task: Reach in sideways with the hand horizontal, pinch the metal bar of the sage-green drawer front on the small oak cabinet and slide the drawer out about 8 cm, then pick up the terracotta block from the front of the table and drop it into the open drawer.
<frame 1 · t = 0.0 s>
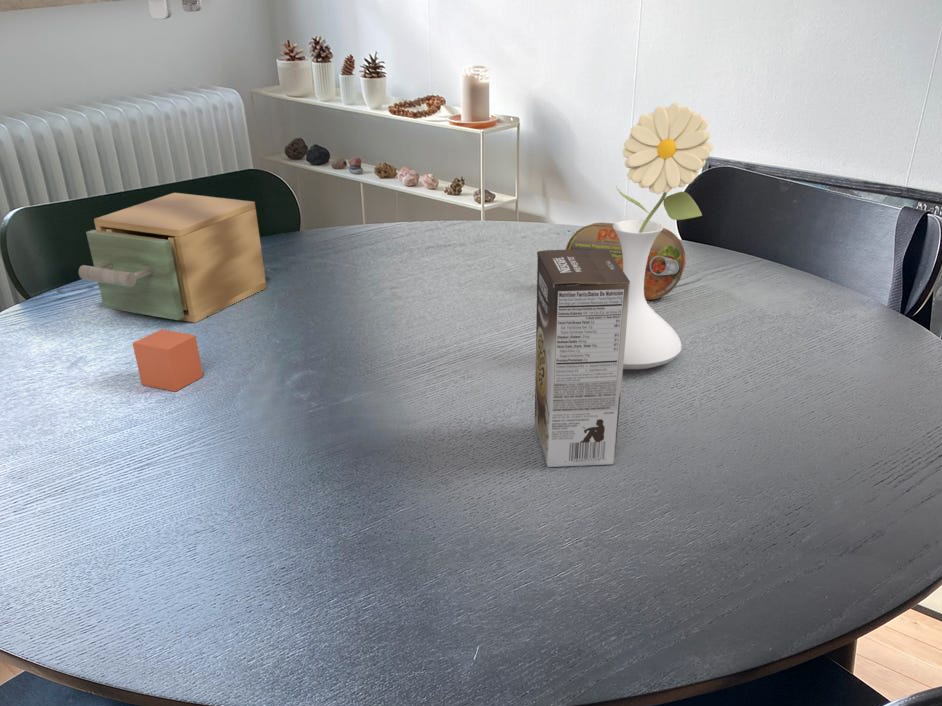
hand: (177, 14, 108), 30 cm above the table, tool pointing down, fingers open, 8 cm apart
flower in vase: (632, 363, 106), on the table
block: (172, 380, 103), on the table
cabinet: (192, 298, 125), on the table
tin: (622, 295, 125), on the table
coffee box: (572, 446, 90), on the table
drawer: (157, 266, 118), point 5 cm above the table, slide at 1.0 cm
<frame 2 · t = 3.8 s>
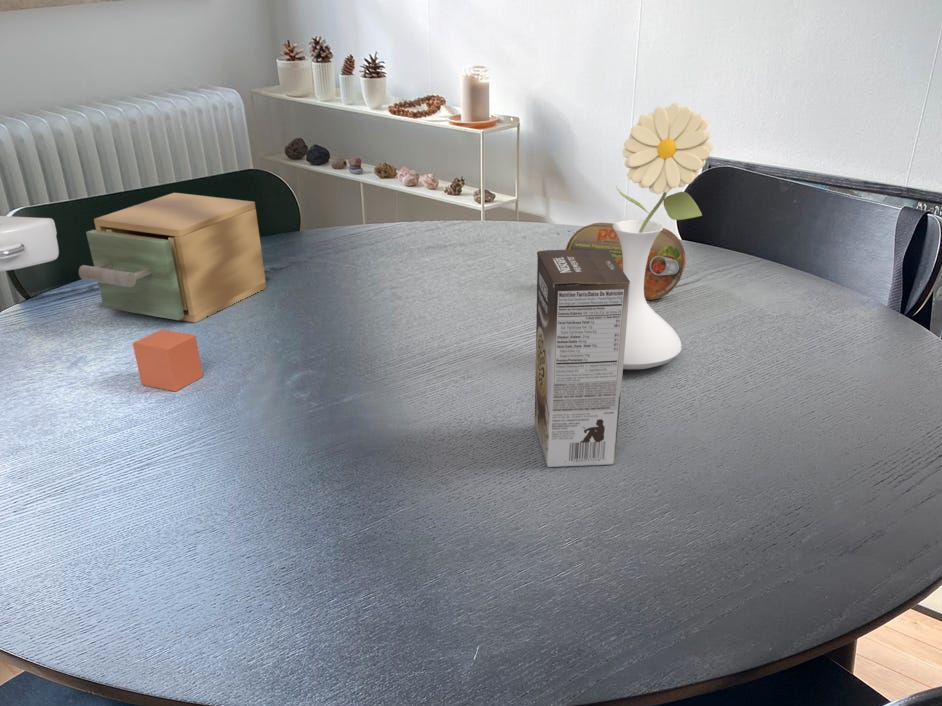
hand: (11, 224, 99), 14 cm above the table, tool horizontal, fingers open, 8 cm apart
nothing on the table moved.
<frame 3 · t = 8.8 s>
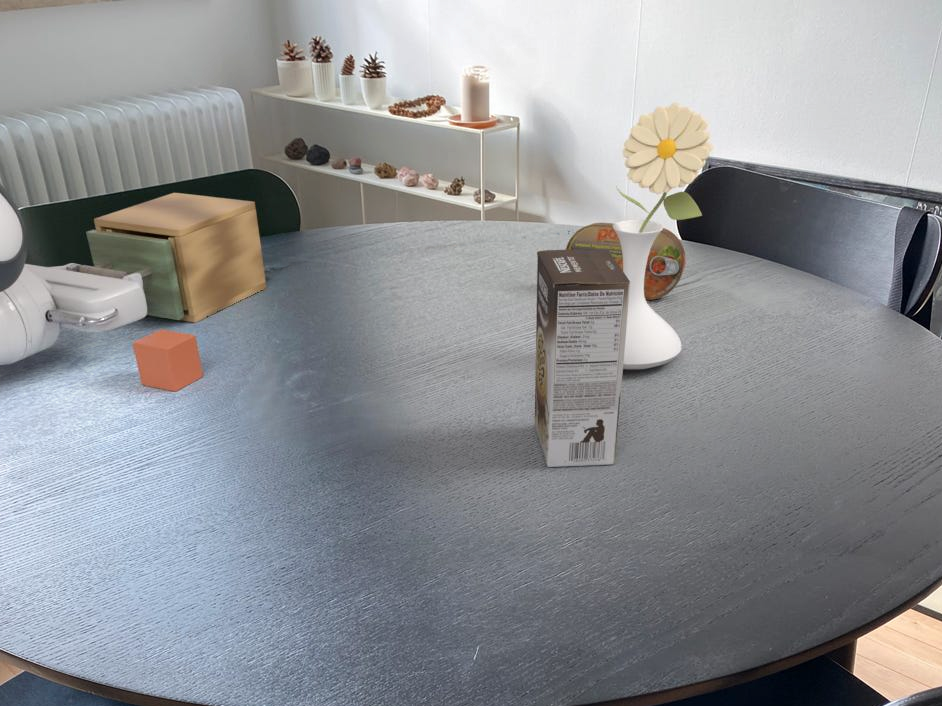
hand: (108, 275, 112), 6 cm above the table, tool horizontal, fingers closed on drawer, 7 cm apart
drawer: (157, 266, 118), point 5 cm above the table, slide at 1.0 cm, touching gripper
everything else where it was.
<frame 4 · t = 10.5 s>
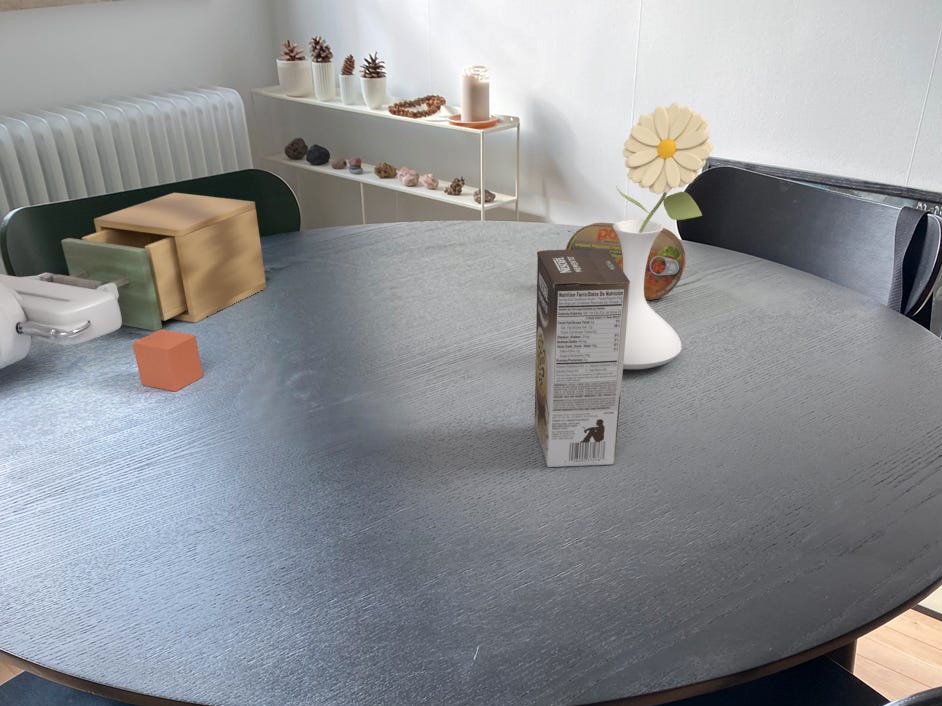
hand: (83, 284, 109), 6 cm above the table, tool horizontal, fingers closed on drawer, 7 cm apart
drawer: (135, 275, 115), point 5 cm above the table, slide at 5.0 cm, touching gripper
everything else where it was.
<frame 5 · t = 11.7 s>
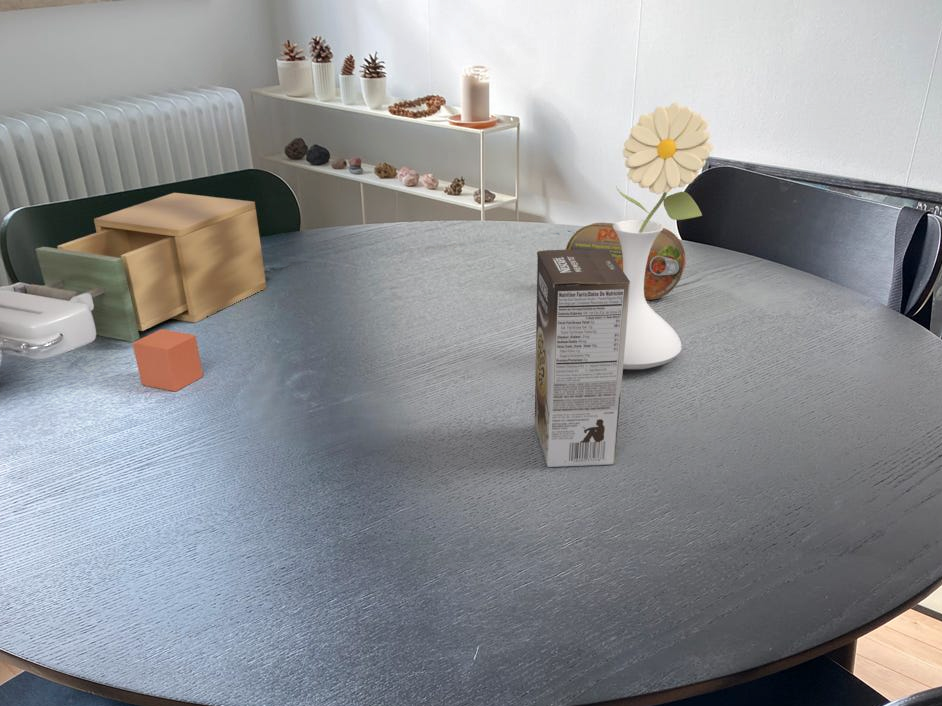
hand: (57, 294, 106), 6 cm above the table, tool horizontal, fingers closed on drawer, 7 cm apart
drawer: (112, 284, 113), point 5 cm above the table, slide at 8.8 cm, touching gripper
everything else where it was.
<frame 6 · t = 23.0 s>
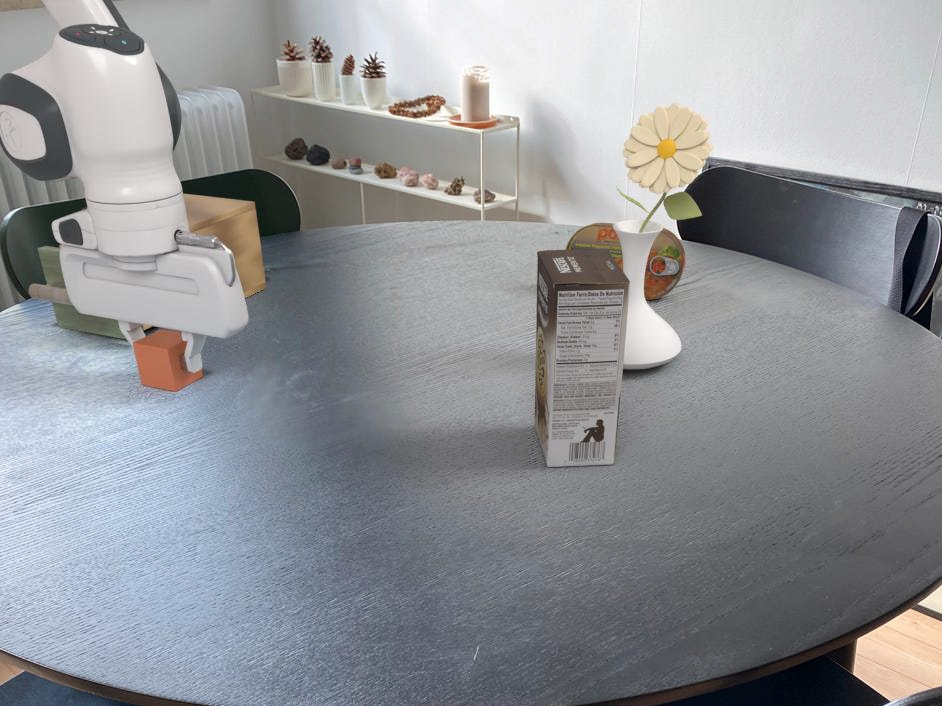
hand: (169, 365, 102), 2 cm above the table, tool pointing down, fingers closed on block, 4 cm apart
block: (172, 381, 103), on the table, touching gripper
drawer: (113, 283, 113), point 5 cm above the table, slide at 8.5 cm
everything else where it was.
when the fingers open (9 cm above the table, at t = 29.4 s): block stays where it is, resting on drawer.
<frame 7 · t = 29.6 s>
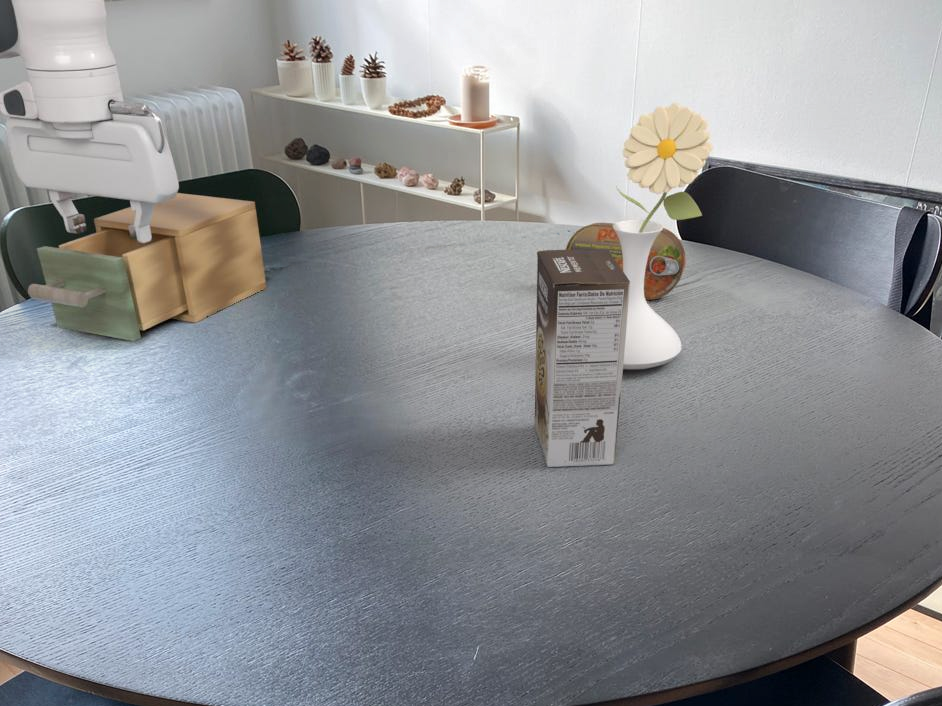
hand: (109, 236, 111), 10 cm above the table, tool pointing down, fingers open, 8 cm apart
block: (125, 309, 115), point 2 cm above the table, touching drawer
drawer: (113, 284, 113), point 5 cm above the table, slide at 8.6 cm, touching block
everything else where it was.
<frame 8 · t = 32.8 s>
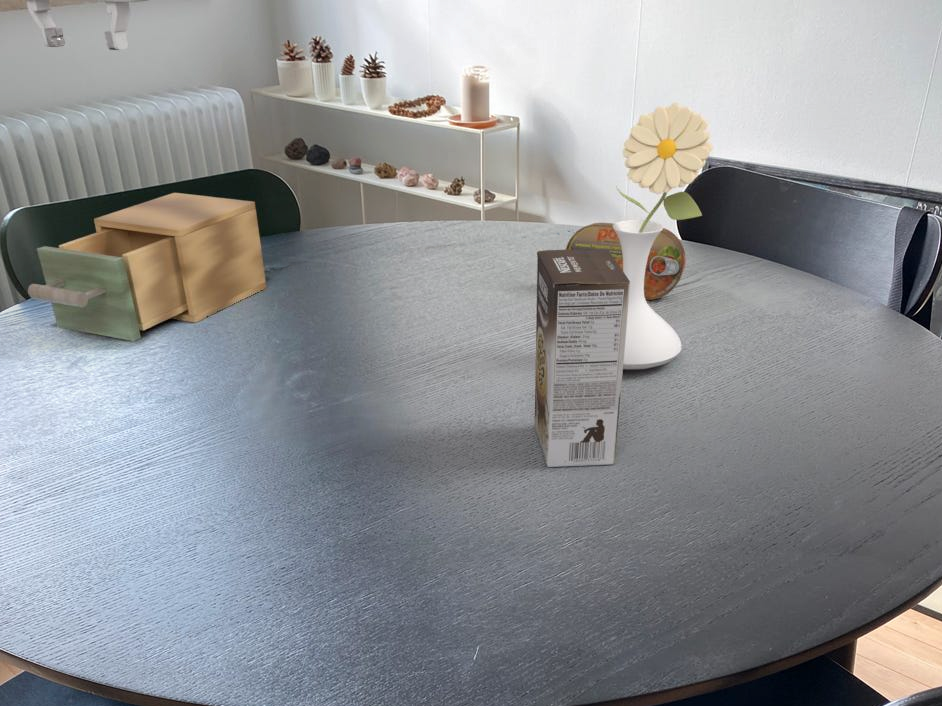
hand: (86, 48, 112), 27 cm above the table, tool pointing down, fingers open, 8 cm apart
nothing on the table moved.
at the end: drawer slide at 8.6 cm; block inside the target area in the drawer (0.5 cm from its centre), point 2.0 cm above the cabinet's base; the gripper is holding nothing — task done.
